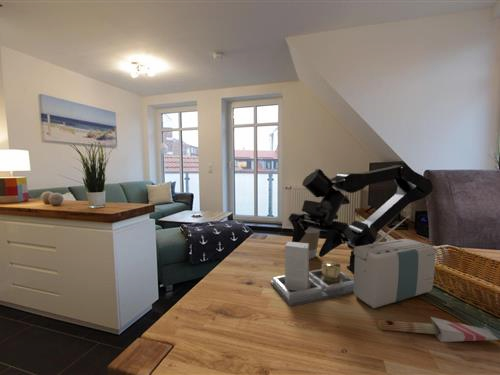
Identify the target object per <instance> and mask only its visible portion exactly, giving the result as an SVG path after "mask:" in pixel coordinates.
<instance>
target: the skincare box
mask: <svg viewBox="0 0 500 375" xmlns="http://www.w3.org/2000/svg"><path fill="white" fill-rule="evenodd" d="M309 271H310V259H309V243H299V242H292V241H287V242H286V244H285V245H284V275H285V287H286V288H287V289H288V290H294V291H301V290H306V289H308V287H309Z"/></svg>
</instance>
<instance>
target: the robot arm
mask: <svg viewBox="0 0 500 375" xmlns="http://www.w3.org/2000/svg"><path fill="white" fill-rule="evenodd" d="M388 181H394V182H395V184H396V185H397V187H396V188H397V189H396V192H395V193H394V195H392V197H390V198H389V199H388V200H386V202H384V203H383V204H382V205H381V206H380V207H379V208H377V210H376V211H375V212H374V213H372V214H370V216H369V217H367V219H365V220H364V221H360V220H357V219H356V220H353V222H351V223H350V225H349V224H348V223H347V222H343V221H342V222H341V221H336V220H338V219H339V215H338V212H339V210H340V208H341V206H343V205H349V204H350V203H351V201H350V199H349V198H348V195H344V193H350V194H353V193H357V192H359V191H361V190H364V189H365V188H366V187H368V186H370V185H376V184H379V183H384V182H388ZM302 186H303V187H304V188H305V189H306V190H307V191H308V192H309V193H311V194H312V195H313V196H314V197H315V198H322V199H321V200H320V202H319V201H313V200H304V201H303V205H302V208H301V212H303V213H305V214H308V215H307V216H308V217H309V218H311V221H309V220H306V219H305V217H304V216H303V215H301V214H302V213H296V212H293V213H291V214H290V215H289V216H288V219H287V220H288V221H289V223H290V224H291V226H292V233H293V234H292V238H291V242H300V240H301V239H302V238H303V236H304V235H305V234H306V232H305V231H306V230H307V229H308V227H310V228H315V229H319V230H320V231H323V232H327V236H326V239H325V241H324V243H323V244H322V246H321V248H320V250H319V253H318V257H319V258H322V257H324V256H326V255H327V254H328V253H330V252H331V251H332V250H334V249H336V248H338V247H339V246H341V245H346V244H347V248H348V249H351V251H350V256H349V265H346V268H347V269H349V271H351V272H353V273H354V267H355V255H354V251H353V249H354V247H357V246H363V245H369V244H373V243H375V242H376V241H377V237H378V234H379V232H380V231H381V230H383V228H384V227H385V226H386V225H388V224H389V223H390V222H391V221H392V220H393V219H395V217H396V216H398V215H399V214H400V213H401V212H402V211H403V210H405V208H407V206H409V205H410V204H412V203H414V202H419V201H421V200H423V199H425V198H427V197H428V196H429V195H431V194H432V192H433V186H434V185H433V183H432V181H431V180H430V179H429V178H427V177H426V176H424V175H422V174H420V173H418V172H416V171H415V170H413V169H411V168H409V166H408V165H407V166H406V165H402V164H401V165H400V164H398V165H396V164H394V165H392V166H388V167H384V168H378V169H373V170H369V171H363V172H340V173H337V174H336V175H335V177H332V178H330V177H328V176H327V175H326V174H325V173H324V171H323V170H321V169H320V168H316V169H315V170H314V171H313V172H311V173H310V174H309V175H307V176H305V178H303V181H302ZM342 192H344V193H342Z"/></svg>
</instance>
